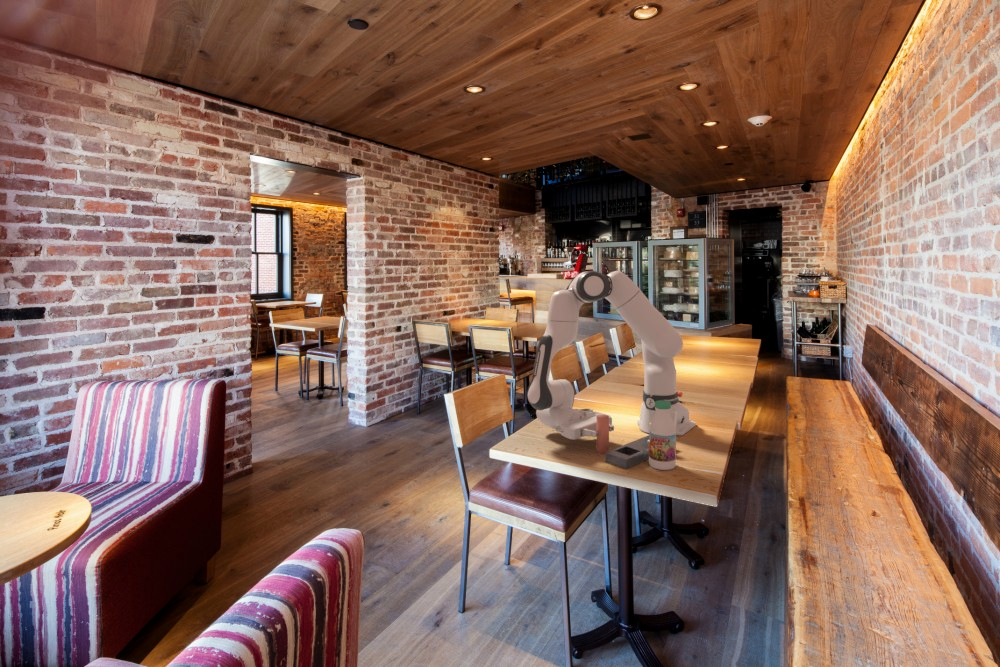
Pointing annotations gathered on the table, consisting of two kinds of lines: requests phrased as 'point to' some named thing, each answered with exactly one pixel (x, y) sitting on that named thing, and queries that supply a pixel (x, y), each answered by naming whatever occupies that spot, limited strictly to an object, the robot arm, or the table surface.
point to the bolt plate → (629, 453)
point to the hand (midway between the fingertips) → (604, 431)
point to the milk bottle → (662, 438)
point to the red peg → (603, 433)
